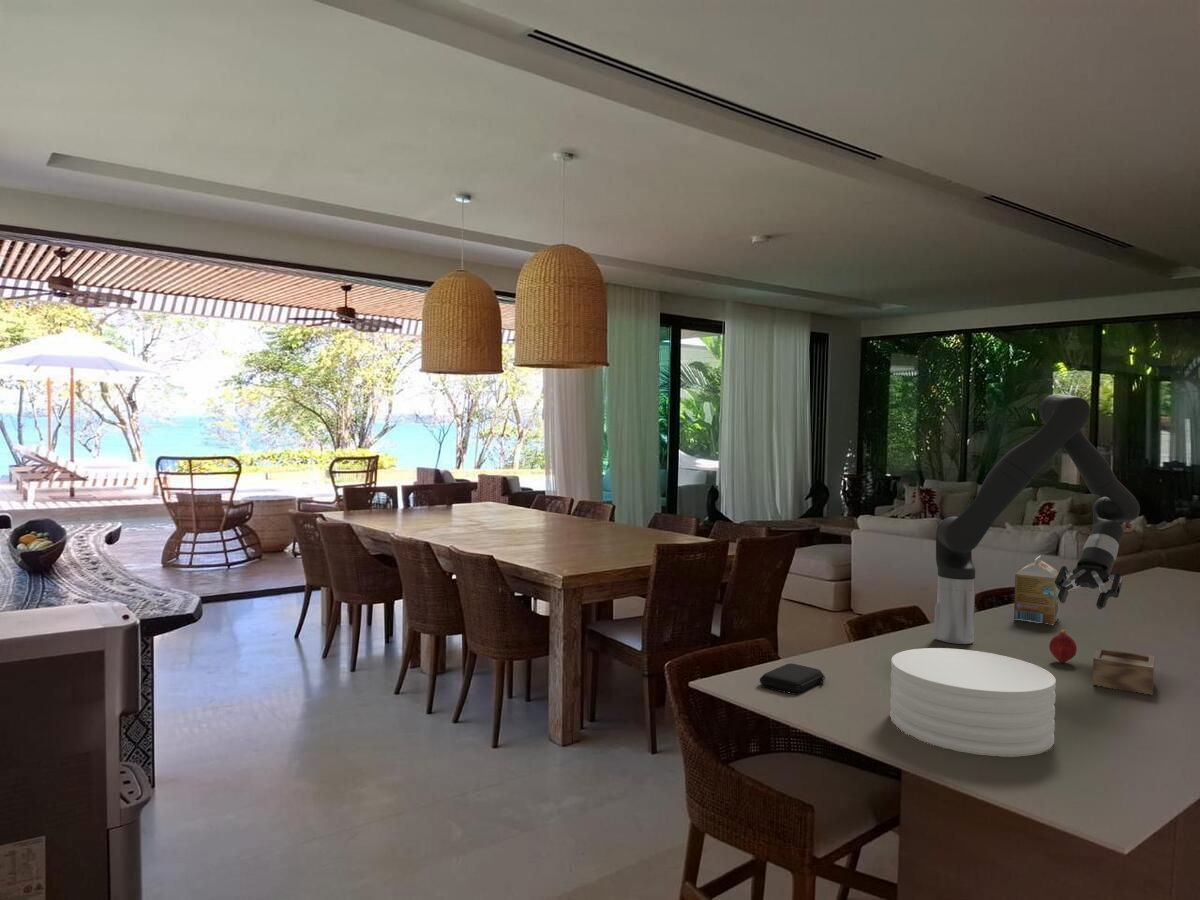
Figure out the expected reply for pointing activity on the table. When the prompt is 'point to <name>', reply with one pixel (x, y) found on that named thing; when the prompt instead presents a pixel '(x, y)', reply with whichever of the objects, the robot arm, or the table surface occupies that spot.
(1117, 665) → the wooden tray
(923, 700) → the plate stack
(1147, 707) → the table surface
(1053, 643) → the onion
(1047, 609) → the milk carton
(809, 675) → the carrying case or bag
